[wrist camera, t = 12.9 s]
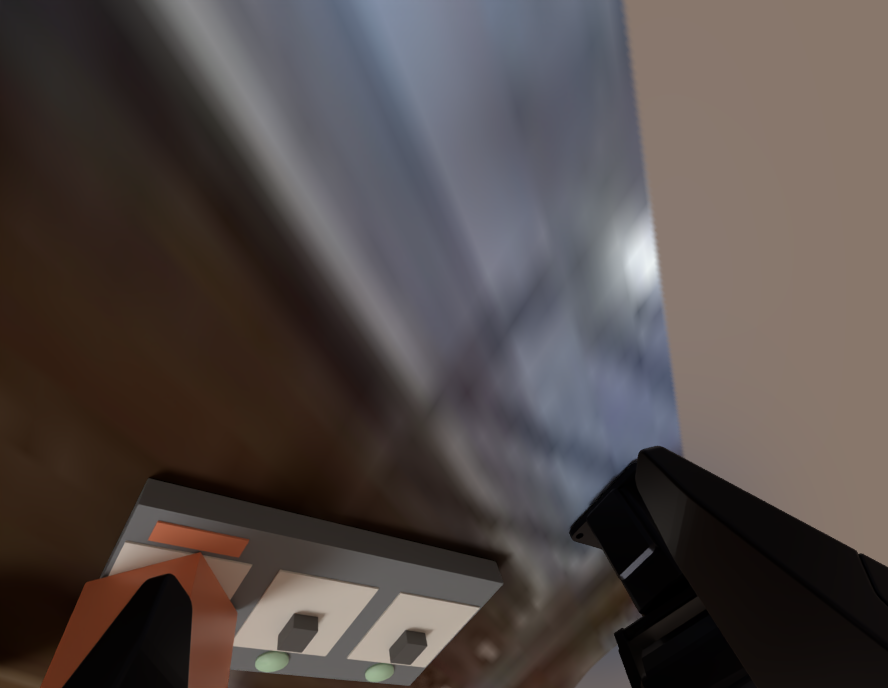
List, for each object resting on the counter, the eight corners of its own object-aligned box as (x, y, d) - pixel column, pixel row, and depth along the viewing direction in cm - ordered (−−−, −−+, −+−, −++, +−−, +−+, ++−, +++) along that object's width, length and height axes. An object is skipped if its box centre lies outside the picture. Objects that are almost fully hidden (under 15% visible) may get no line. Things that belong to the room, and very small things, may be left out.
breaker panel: (496, 561, 31) (508, 597, 29) (405, 662, 34) (411, 700, 32) (148, 478, 22) (131, 521, 20) (76, 624, 26) (56, 673, 24)
